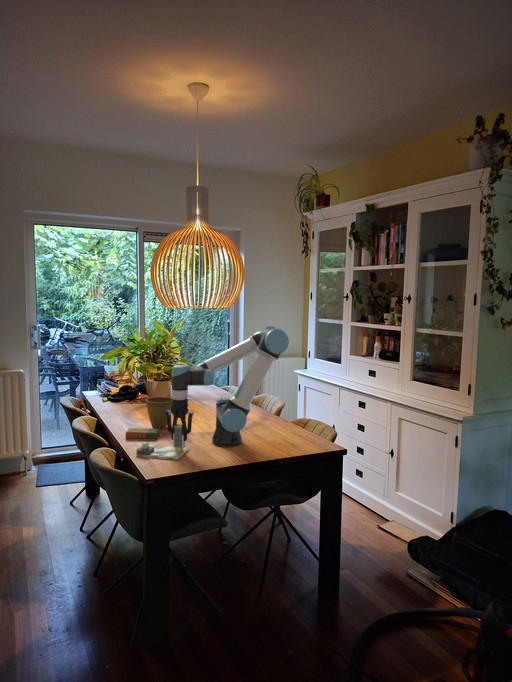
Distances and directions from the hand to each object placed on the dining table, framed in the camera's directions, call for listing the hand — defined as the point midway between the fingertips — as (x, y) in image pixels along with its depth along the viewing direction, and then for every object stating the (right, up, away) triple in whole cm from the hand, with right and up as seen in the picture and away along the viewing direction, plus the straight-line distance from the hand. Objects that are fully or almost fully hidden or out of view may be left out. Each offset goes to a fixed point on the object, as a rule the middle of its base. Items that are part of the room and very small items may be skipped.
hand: (179, 446), depth 235 cm
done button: (-15, -1, -3) cm, 16 cm away
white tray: (-8, -3, 0) cm, 8 cm away
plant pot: (-17, +2, +42) cm, 46 cm away
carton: (-23, -1, +24) cm, 33 cm away
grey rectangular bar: (0, -2, 0) cm, 2 cm away
